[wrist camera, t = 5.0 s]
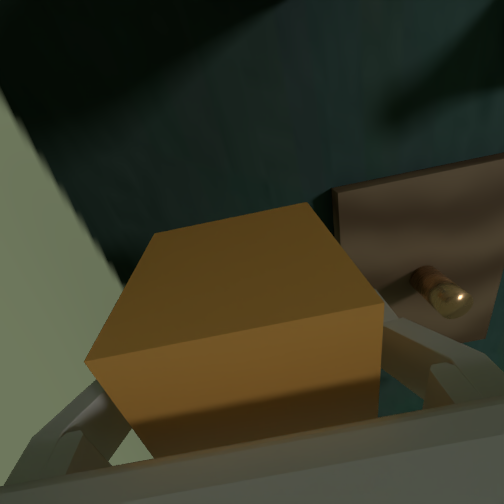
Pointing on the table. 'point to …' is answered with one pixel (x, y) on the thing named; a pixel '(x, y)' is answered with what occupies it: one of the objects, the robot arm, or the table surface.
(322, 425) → the mustard brick
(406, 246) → the walnut post base
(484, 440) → the robot arm
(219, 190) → the table surface
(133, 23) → the table surface
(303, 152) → the table surface
